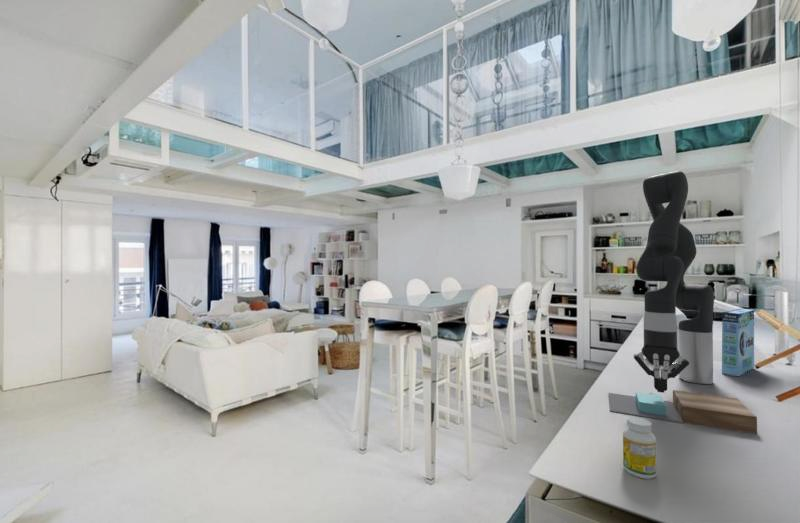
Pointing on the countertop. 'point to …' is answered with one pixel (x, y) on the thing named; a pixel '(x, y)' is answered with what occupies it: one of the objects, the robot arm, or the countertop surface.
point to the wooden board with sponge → (714, 411)
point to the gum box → (737, 341)
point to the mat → (630, 407)
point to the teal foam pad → (650, 403)
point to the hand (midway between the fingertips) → (660, 391)
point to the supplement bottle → (639, 448)
